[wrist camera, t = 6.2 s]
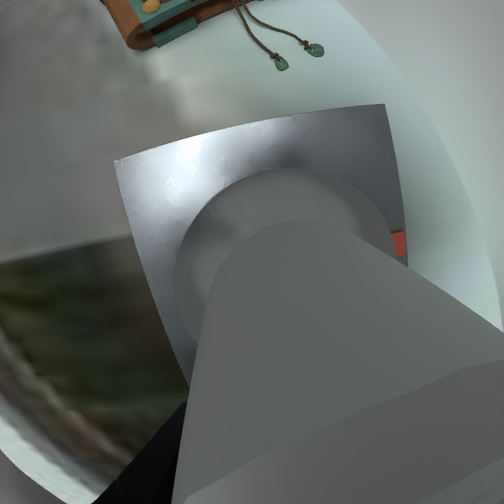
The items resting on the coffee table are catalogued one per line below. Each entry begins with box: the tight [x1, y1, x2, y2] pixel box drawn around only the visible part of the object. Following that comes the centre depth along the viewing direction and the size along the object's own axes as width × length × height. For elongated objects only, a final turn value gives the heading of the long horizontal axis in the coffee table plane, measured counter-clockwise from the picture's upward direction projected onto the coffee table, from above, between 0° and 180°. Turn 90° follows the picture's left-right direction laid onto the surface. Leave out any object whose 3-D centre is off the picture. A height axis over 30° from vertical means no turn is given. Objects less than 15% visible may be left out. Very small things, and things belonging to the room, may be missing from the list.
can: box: [171, 219, 504, 504], centre depth 8 cm, size 8×8×12 cm
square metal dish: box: [113, 104, 408, 388], centre depth 16 cm, size 16×15×4 cm
